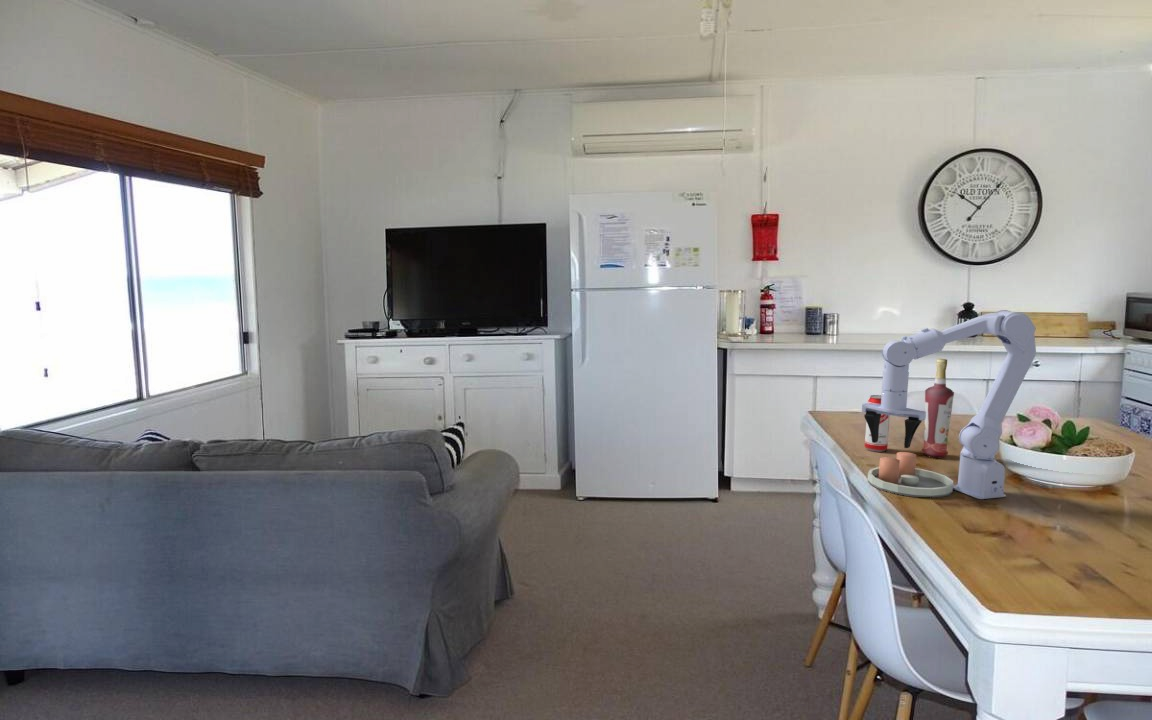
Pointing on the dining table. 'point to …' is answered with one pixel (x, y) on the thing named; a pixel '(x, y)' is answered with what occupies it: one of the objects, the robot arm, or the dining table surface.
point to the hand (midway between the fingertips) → (890, 444)
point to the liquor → (937, 414)
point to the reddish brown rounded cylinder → (889, 470)
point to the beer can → (883, 429)
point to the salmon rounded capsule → (906, 463)
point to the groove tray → (914, 484)
